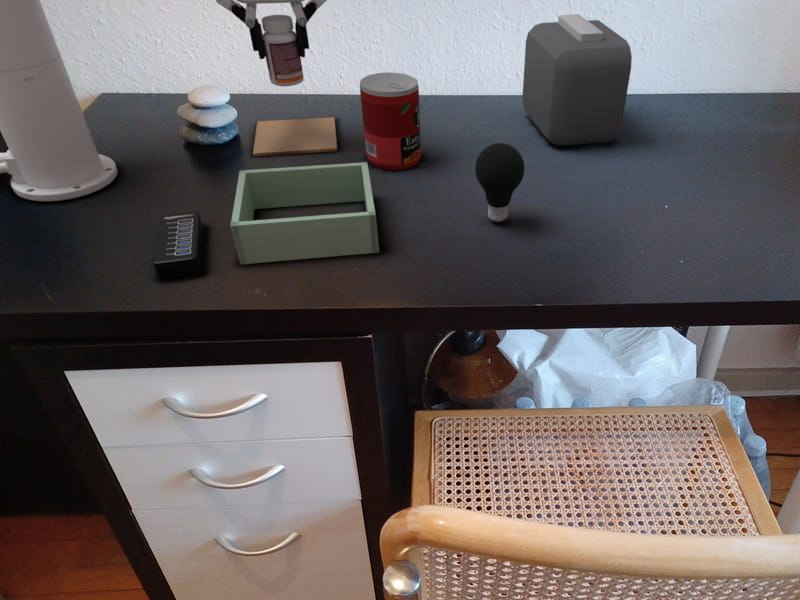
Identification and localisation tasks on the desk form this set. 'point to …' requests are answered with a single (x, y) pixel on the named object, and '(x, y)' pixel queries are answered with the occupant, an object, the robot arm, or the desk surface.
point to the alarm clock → (576, 80)
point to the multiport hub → (179, 245)
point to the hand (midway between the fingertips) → (282, 53)
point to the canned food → (391, 120)
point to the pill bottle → (281, 51)
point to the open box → (308, 232)
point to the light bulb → (499, 177)
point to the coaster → (295, 136)
